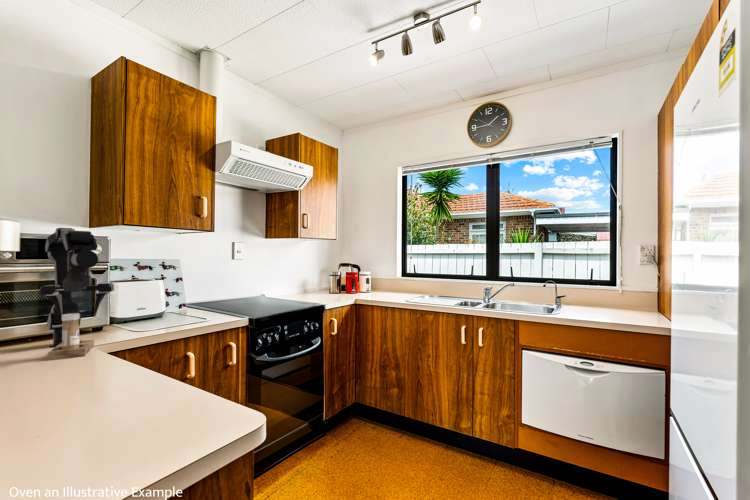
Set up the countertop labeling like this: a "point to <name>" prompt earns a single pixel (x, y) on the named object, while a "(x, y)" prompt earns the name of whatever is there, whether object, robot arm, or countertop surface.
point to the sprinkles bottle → (70, 331)
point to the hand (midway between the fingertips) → (78, 314)
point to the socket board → (71, 350)
